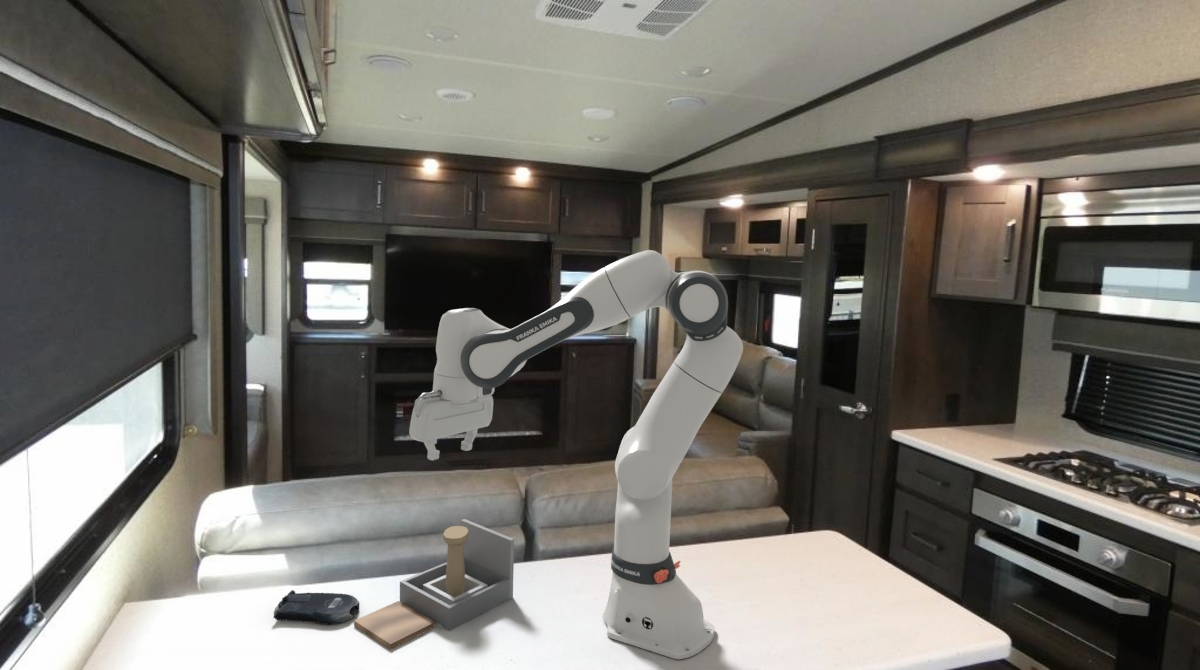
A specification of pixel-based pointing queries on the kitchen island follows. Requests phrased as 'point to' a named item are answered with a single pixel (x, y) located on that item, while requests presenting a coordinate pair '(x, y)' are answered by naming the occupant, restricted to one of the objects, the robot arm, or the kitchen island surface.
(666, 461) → the robot arm
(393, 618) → the walnut pad
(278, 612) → the electronic device
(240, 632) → the kitchen island surface
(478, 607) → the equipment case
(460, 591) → the handle
